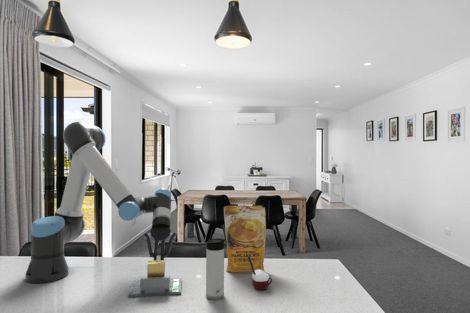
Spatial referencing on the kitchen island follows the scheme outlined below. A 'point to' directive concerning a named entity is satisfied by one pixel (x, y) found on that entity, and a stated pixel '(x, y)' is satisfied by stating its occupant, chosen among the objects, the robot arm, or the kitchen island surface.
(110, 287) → the kitchen island surface
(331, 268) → the kitchen island surface
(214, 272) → the travel mug
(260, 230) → the pancake mix bag
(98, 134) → the robot arm
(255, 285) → the cocoa
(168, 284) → the gauge bed
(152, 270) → the brushed brass block
